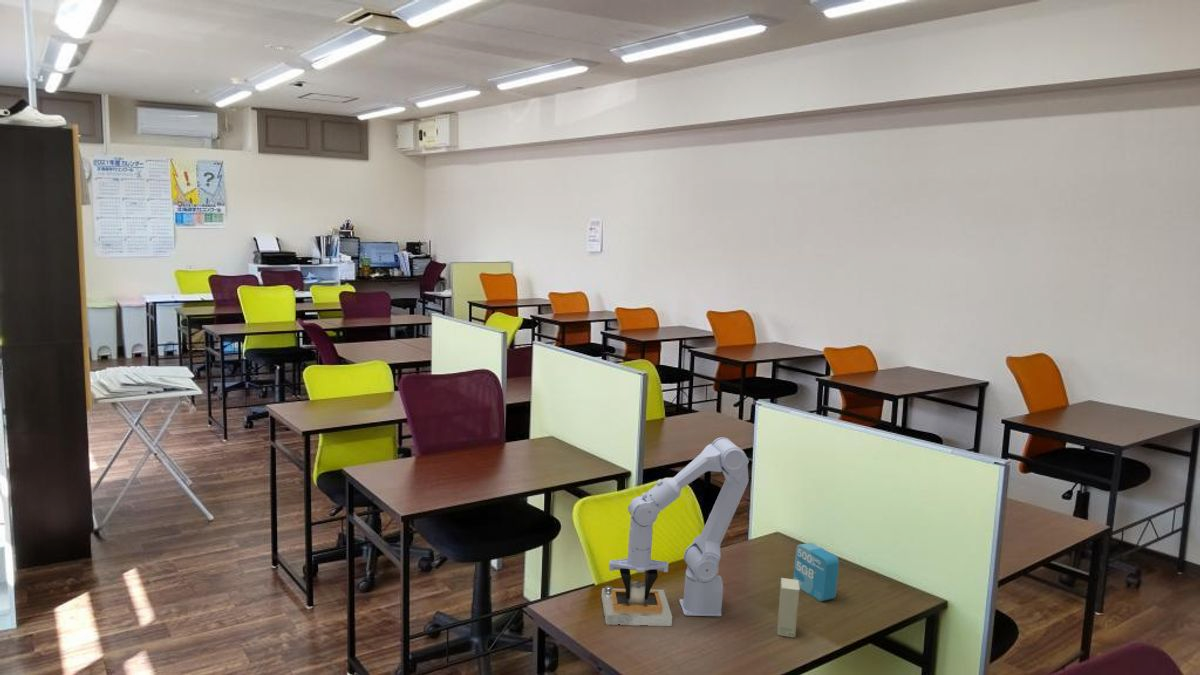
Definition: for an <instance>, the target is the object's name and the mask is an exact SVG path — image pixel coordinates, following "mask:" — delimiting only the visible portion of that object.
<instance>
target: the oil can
mask: <svg viewBox="0 0 1200 675" xmlns="http://www.w3.org/2000/svg"><path fill="white" fill-rule="evenodd" d="M645 589H646V585H645V582H641V581H630V598H629V600H628V604H637V605H644V602H645Z"/></svg>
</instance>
